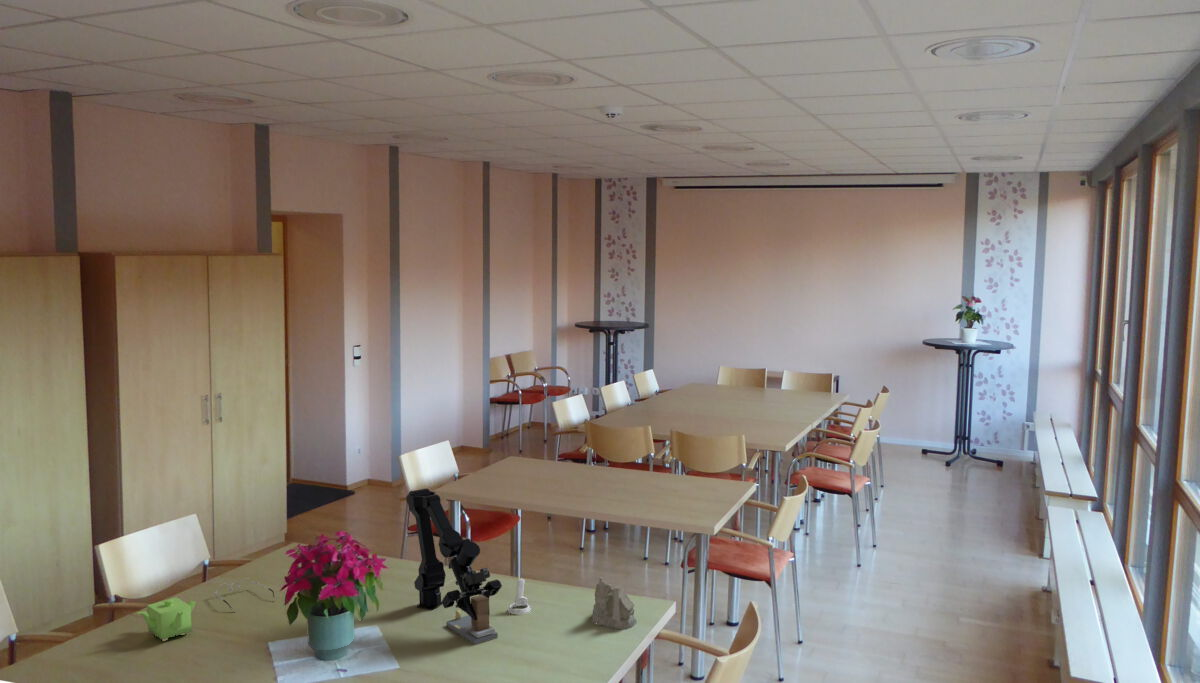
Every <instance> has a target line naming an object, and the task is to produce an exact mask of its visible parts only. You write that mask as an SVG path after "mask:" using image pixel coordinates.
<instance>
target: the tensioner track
mask: <svg viewBox="0 0 1200 683" xmlns="http://www.w3.org/2000/svg"><path fill="white" fill-rule="evenodd" d="M461 614H462V613H461V609H460V610H459V609H458V610H455V618H454V619H451V620H450V619H449V620H447V621H446V625H445V626H446V627H447V626H448V627H447V628H449V629H450V628H451V629H450V630H452V631H453V630H454V631H453V632H455V633H457V634H458V633H459V634H458V635H459V636H461V635H462V636H461V637H463V638H464V637H465V638H464V639H466V640H467V639H468V640H467V641H469V640H470V641H471V643H472V644H474V645H477V643H478V644H481V643H484V642H483V641H485V642H487V641H486V640H488V641H490V639H491V640H493V638H495V639H497V638H496V637H498V636H499V634H498V632H496V631H495V633H492V634H489V635H486V636H482V637H479V638H477V637H476V636H474V635H472V634H471V633H469V632H468V631H466V627H467V626H471V617H470V616H469V615H468V614H467V615H464V616H461ZM470 641H469V642H470ZM480 642H481V643H480Z"/></svg>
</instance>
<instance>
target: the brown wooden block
mask: <svg viewBox="0 0 1200 683" xmlns="http://www.w3.org/2000/svg"><path fill="white" fill-rule="evenodd" d="M470 602H471V604H472V607H473V609H474V611H475V613H476V616H477V620H476V621H475V620H474V619H473V618H472V617H471V626H467V627H466V631H468V632H469V633H471V634H472V635H474V636H476V637H477V638H479V637H482V636H486V635H489V634H492V633H495V632H496V631H495V628H494V627H492V626H490V616H489V613H490V597H489V598H487V597H485V596H484V595H475V596H472V597H470Z"/></svg>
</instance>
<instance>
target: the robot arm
mask: <svg viewBox="0 0 1200 683" xmlns="http://www.w3.org/2000/svg"><path fill="white" fill-rule="evenodd" d="M406 503H407V505H408V509H409V511H410V512H411V514H412V515H413V516H414V518H415V523H416V530H417V536H418V543H419V550H420V555H421V562H420V564H419V566H418V575H417V577H416V579H415V580H414V582H413V583H414V589H415V590H417V591H419V592H418V593H419V594H418V595H419V603H418V604H417V605H416V608H422V609H427V610H434V609H436V608H438V607H439V606H441V605H443V609H447V608H451V607H454V604H455V603H456V605H455V608H459V609H460V611H461V610H462V611H463V612H465V613H466V614H467V616H468V615H469V616H470V617H472V618H473V619H474V620H475V621H476V620H477V616H476V613H475V611H474V609H473V607H472V604H471V598H472V597H475V596H479V595H484V596H485V597H487V598H489V599H490V597H493V596H495V595H497V594H498V592H499V591H500V590H501V588H503V585H502V582H501V581H500V580H499V579H493V580H489V581H487V579H488V578H490V577H491V574H490V570H489V568H488V567H483V568H481V569H479V570H480V571H479V572H477V571H476V570H473V569H472V565H473V564H474V562H475V561H476V560H477V558H478V557H479V555H480V553H481V548H480V546H479V545H478V544H477V543H476V542H474V541H472V540H471V539H470V538H465V539H464V538H463V536H462V535H461V534H460V532H458V531H457V530H455V529H454V528H453V526H452V524H451V522H450V519H449V517H448V516H447V514H446V511H445V509H444V507H443V505H442V503H441V497H440V495H439V494H437V492H436V491H432V490H430V489H429V488H428V487H427V488H421V489H414V490H410V491H409V492H408V494H407V495H406ZM432 524H433V525H432ZM432 526H434V528H435V530H436V532H437V535H438V537H439V538H438V539H439V540H438V547H439V552H440V554H441V555H442V556H443V557H444V558H446V559H447V558H451V557H453V558H452V559H450V560H449V564H448V569H449V570H452V573H453V575H454V577H455V580H456V581H455V585H456V586H458V587H459V589H454V590H451V591H448V592H447V593H446V594H445V595H444V597H443V598H442V592H441V588H443V587H445V582H446V571H445V569H444V568H445V566H444V562H443V561H440V559H439V558H438V557H437V552H436V545H435V539H434V533H433V527H432ZM484 582H486V584H485V585H484V586H482V585H483V583H484ZM481 586H482V587H481ZM490 615H491V614H490V612H489V617H490Z"/></svg>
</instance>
